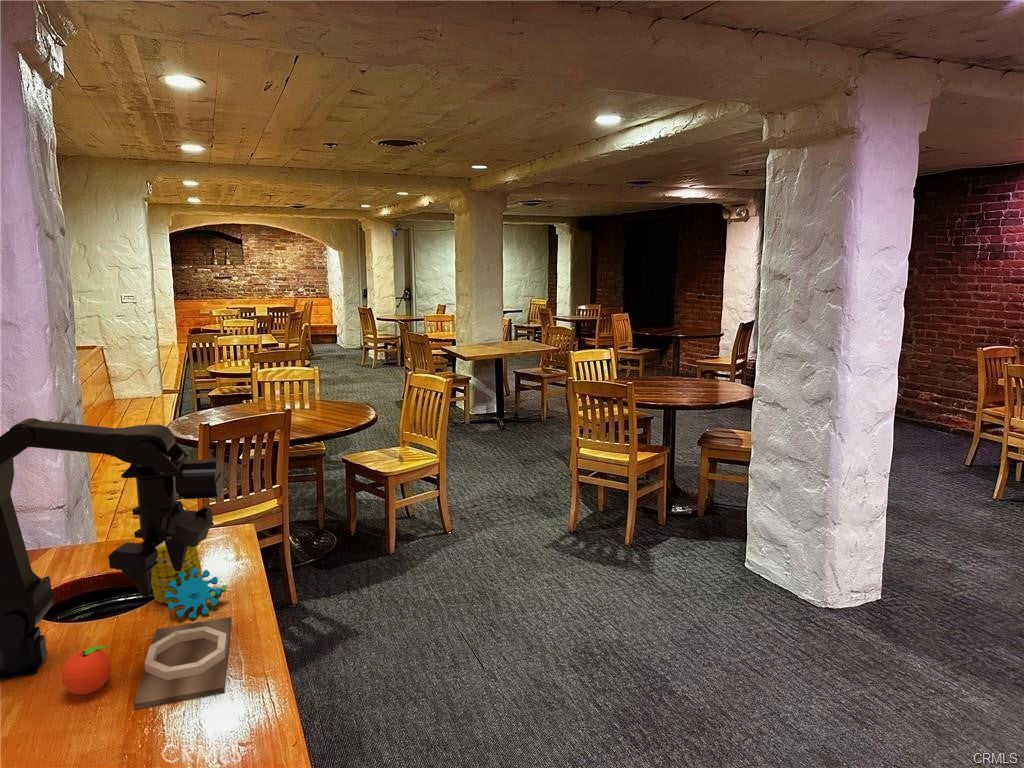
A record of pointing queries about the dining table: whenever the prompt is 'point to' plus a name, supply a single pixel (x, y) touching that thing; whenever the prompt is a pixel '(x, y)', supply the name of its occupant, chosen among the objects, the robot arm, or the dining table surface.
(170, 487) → the robot arm
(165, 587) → the food
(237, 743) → the dining table surface
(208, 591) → the blue knobbed toy
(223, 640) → the seat ring
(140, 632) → the dining table surface
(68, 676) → the clementine
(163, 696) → the board
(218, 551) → the dining table surface
